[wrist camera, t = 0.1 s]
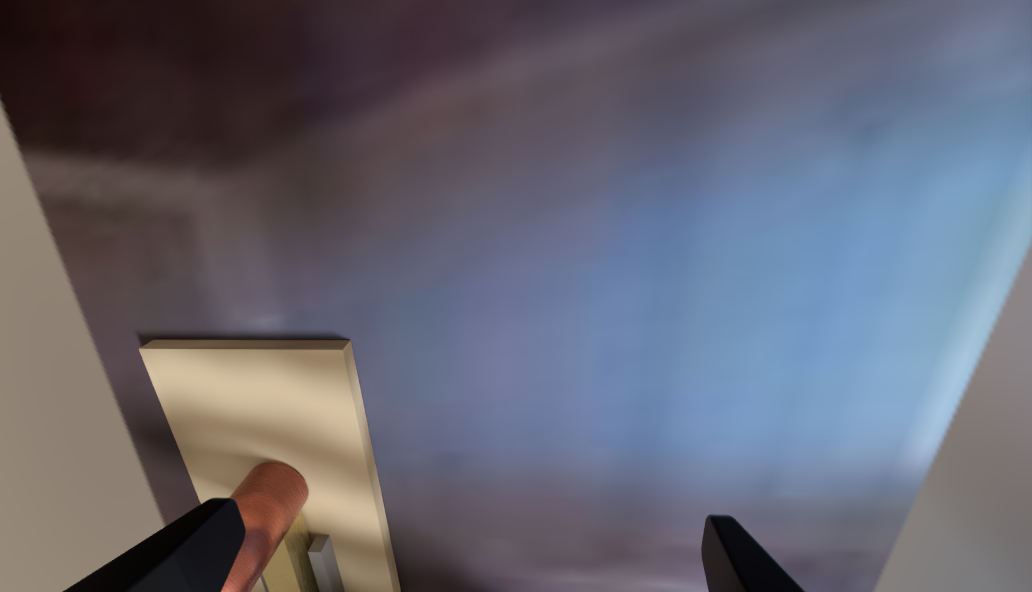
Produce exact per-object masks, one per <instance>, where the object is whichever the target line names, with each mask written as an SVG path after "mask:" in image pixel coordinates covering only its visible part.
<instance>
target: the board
mask: <svg viewBox="0 0 1032 592" xmlns="http://www.w3.org/2000/svg"><path fill="white" fill-rule="evenodd" d="M139 351H140V353H141V356H142V358H143V361H144V363H145V366H146V368H147V371H148V373H149V376H150V378H151V381H152V383H153V386H154V388H155V391H156V393H157V395H158V398H159V400H160V403H161V405H162V408H163V410H164V413H165V415H166V418H167V420H168V423H169V425H170V428H171V430H172V433H173V435H174V438H175V440H176V443H177V445H178V448H179V450H180V453H181V455H182V458H183V460H184V463H185V465H186V468H187V470H188V473H189V475H190V478H191V480H192V483H193V485H194V488H195V490H196V492H197V495H198V497H199V500H200V502H201V504H202V503H204V502H205V501H207V500H209V499H211V498H215V497H219V498H229V497H230V496H231V494H232V493H233V492H234V491H235V490H236V488H237V487H238V486H239V485H240V483H241V482H242V481H243V480H244V478H245V477H246V476H247V475H248V473H249V472H250V471H251V470H252V469H253V468H254V467H255V466H257V465H259V464H262V463H278V464H282V465H285V466H287V467H289V468H291V469H293V470H294V471H296V472H297V473H298V474H299V475H300V476H301V477H302V478H303V479H304V480H305V482H306V484H307V486H308V490H309V495H308V499H307V501H306V503H305V504H304V506H303V507H302V509H301V510H302V514H303V517H304V520H305V524H306V527H307V531H308V534H309V538H310V541H311V544H312V545H311V547H310V549H309V551H308V554H309V558H310V561H311V564H312V568H313V571H314V574H315V578H316V581H317V584H318V588H319V591H320V592H401V589H400V584H399V579H398V574H397V569H396V564H395V559H394V554H393V549H392V544H391V539H390V534H389V529H388V524H387V519H386V514H385V509H384V504H383V499H382V494H381V489H380V484H379V479H378V474H377V469H376V464H375V459H374V454H373V449H372V444H371V439H370V434H369V429H368V424H367V419H366V415H365V410H364V405H363V400H362V395H361V390H360V385H359V380H358V375H357V370H356V365H355V360H354V355H353V350H352V345H351V340H152V341H151V342H149V343H148V344H146V345H144V346H143V347H141V348H139ZM251 592H269V590H268V587H267V585H266V582H265V579H264V576H263V574H261V576H260V578H259V579H258V581H257V583H256V584H255V586H254V587H253V589H252V591H251Z"/></svg>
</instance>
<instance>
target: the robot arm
mask: <svg viewBox="0 0 1032 592" xmlns="http://www.w3.org/2000/svg"><path fill="white" fill-rule="evenodd" d="M245 534H246V528H245V524H244V522H243V519H242V516H241V513H240V510H239V508H238V505H237V502H236V501H235V500H234V499H233V498H219V497H215V498H211V499H209V500H207V501H205V502H204V503H202V504H201V505H199V506H197V507H196V508H194V509H193V510H191V511H189V512H188V513H186V514H185V515H183V516H182V517H180V518H178V519H177V520H175V521H174V522H172V523H171V524H169V525H167V526H166V527H164V528H163V529H161V530H159V531H158V532H157V533H155V534H153V535H152V536H150V537H148V538H147V539H145V540H144V541H142V542H141V543H139V544H138V545H136V546H134V547H133V548H131V549H129V550H128V551H126V552H125V553H123V554H122V555H120V556H118V557H117V558H115V559H114V560H112V561H110V562H109V563H107V564H106V565H104V566H103V567H101V568H99V569H98V570H96V571H95V572H93V573H92V574H90V575H88V576H87V577H85V578H84V579H82V580H80V581H79V582H77V583H76V584H74V585H73V586H71V587H69V588H68V589H66V590H65V591H63V592H221V591H222V588H223V586H224V584H225V582H226V580H227V577H228V575H229V573H230V571H231V568H232V566H233V564H234V562H235V560H236V557H237V555H238V553H239V551H240V549H241V546H242V544H243V542H244V539H245ZM701 551H702V561H703V566H704V571H705V575H706V580H707V585H708V590H709V592H805V591H804V590H803V589H802V588H801V587H800V585H799V584H798V583H797V582H796V581H795V580H794V579H793V578H792V577H791V576H790V575H789V574H788V573H787V572H786V571H785V570H784V569H783V568H782V567H781V566H780V565H779V564H778V563H777V562H776V561H775V560H774V559H773V558H772V557H771V556H770V554H769V553H768V552H767V551H766V550H765V549H764V548H763V547H762V546H761V545H760V544H759V543H758V542H757V541H756V540H755V539H754V538H753V537H752V536H751V535H750V534H749V533H748V532H747V531H746V530H745V529H744V528H743V527H742V526H741V525H740V524H739V522H738V521H737V520H736V519H735V518H733V517H732V516H730V515H713V514H711V515H708V516H707V518H706V521H705V528H704V534H703V540H702V549H701Z"/></svg>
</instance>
